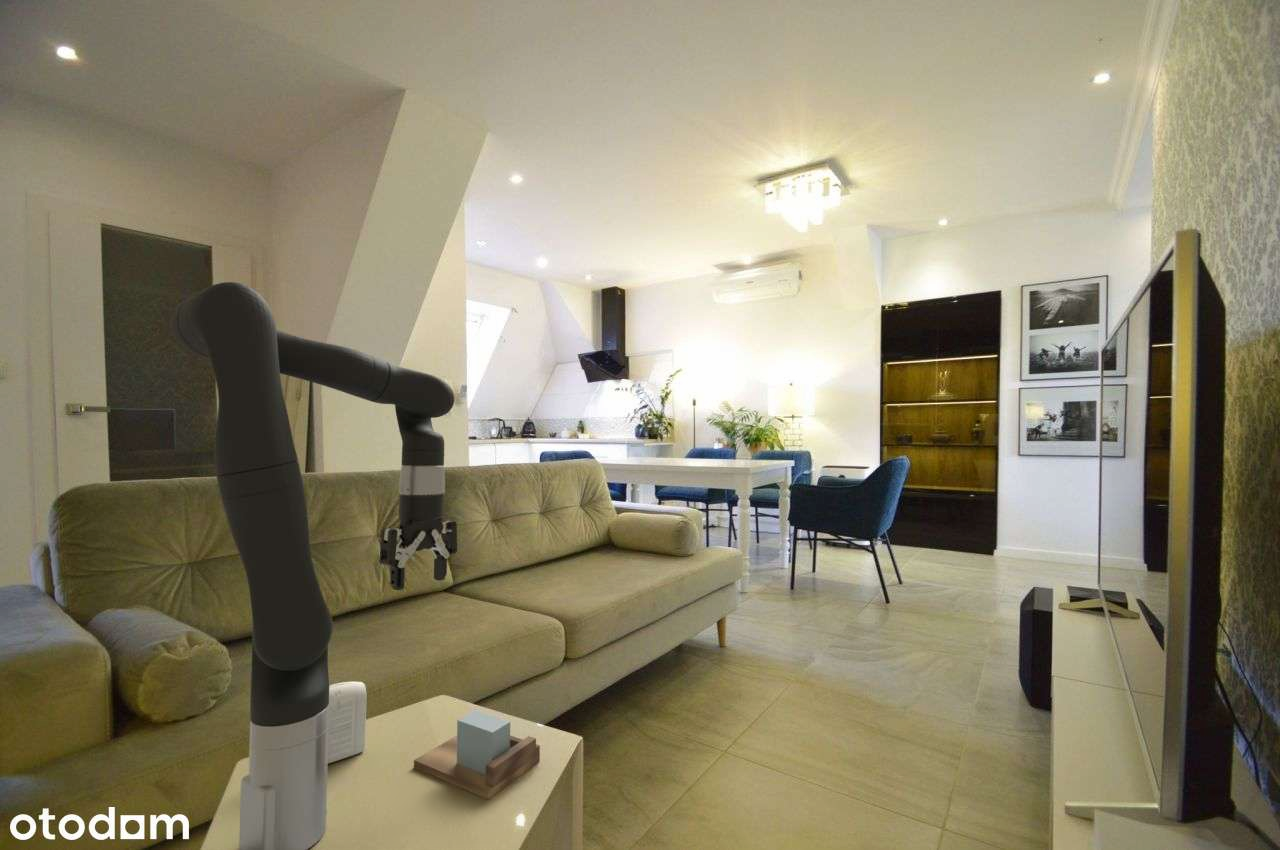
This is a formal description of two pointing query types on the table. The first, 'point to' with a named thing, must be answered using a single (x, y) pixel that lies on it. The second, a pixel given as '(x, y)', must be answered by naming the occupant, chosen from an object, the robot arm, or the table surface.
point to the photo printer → (346, 720)
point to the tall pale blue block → (481, 740)
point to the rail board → (461, 773)
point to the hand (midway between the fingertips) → (419, 584)
